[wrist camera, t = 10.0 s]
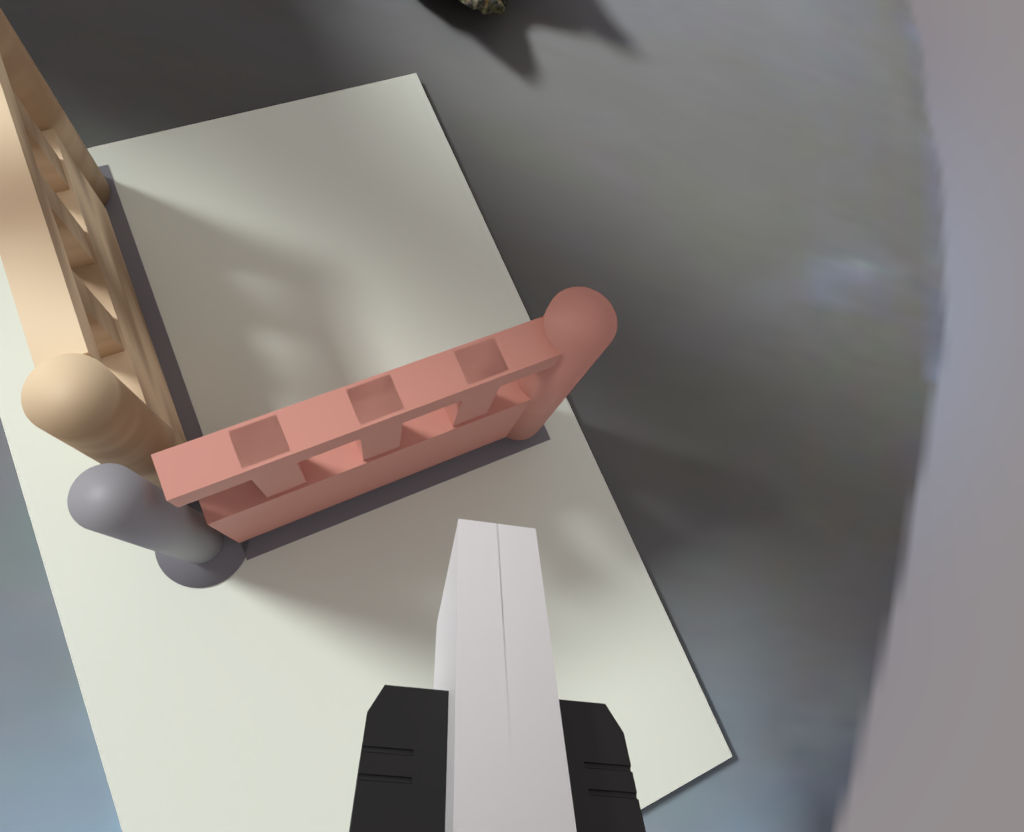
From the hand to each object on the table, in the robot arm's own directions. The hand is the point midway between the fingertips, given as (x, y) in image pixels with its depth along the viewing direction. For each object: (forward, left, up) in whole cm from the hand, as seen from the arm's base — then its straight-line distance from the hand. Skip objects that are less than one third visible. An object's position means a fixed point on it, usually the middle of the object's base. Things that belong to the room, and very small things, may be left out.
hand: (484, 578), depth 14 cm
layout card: (-6, -2, -14) cm, 15 cm away
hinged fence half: (-5, 0, -13) cm, 14 cm away
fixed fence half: (-14, -7, -13) cm, 20 cm away
